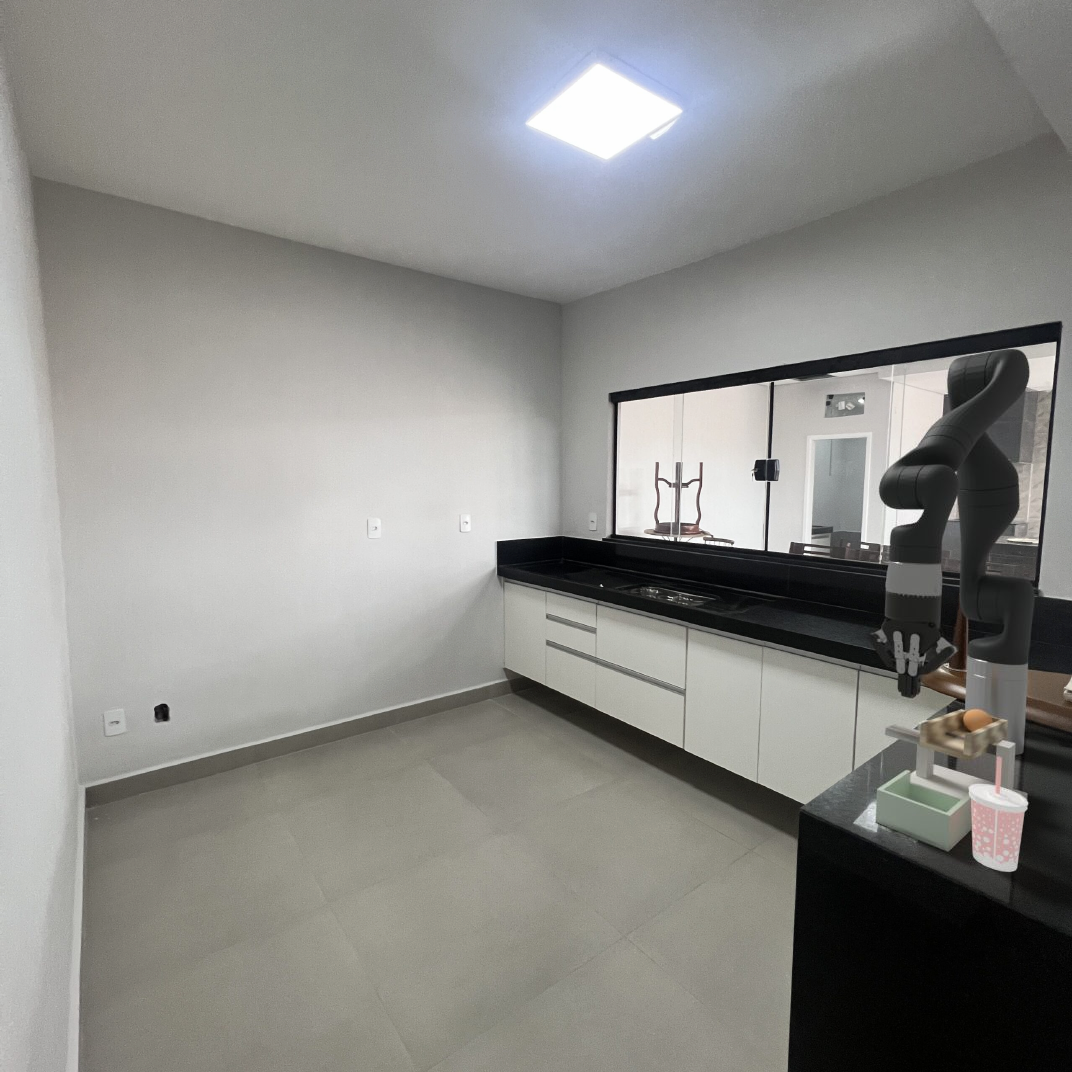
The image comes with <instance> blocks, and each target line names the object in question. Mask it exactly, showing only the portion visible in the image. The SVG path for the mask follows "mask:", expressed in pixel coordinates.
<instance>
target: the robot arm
mask: <svg viewBox="0 0 1072 1072" xmlns="http://www.w3.org/2000/svg"><path fill="white" fill-rule="evenodd" d="M1030 372H1031V371H1030V364H1029V360H1028V358H1027V355H1026V354H1025V353H1024V352H1023V351H1022V350H1020V349H1018V348H1017V349H1016V348H1007V349H1005V348H1004V349H999V350H993V351H988V352H987V351H985V352H982V353H981V352H980V353H977V354H976V353H975V354H969V355H964V356H960V357H956V358H955V359H954V360H953V361H952V362H951V364H950V365H949V367H948V371H947V377H946V385H947V386H946V388H947V396H948V397H947V399H948V405H949V412H948V413H946V414H944V415H942V416H941V417H940V418H939V419H937V420H936V421H935V423H933V424H932V425H931V426H930V427H929V429H928V430H927V432H926V433H925V434H924V436H923V438H921V440H920V442H918V444H917V446H916V447H914V448H912V449H911V450H910V451H909V452H907V453H906V454H905V455H903V456H902V457H901V458H899V459H898V460H896V461H895V462H894V463H893V464H891V465H890V466H889V467H888V468H887V470H886V471H885V472H884V474H883V475H882V477H881V479H880V482H879V486H878V493H879V497H880V500H881V502H882V503H883V504H884V505H885V506H887V507H888V508H890V509H893V510H900V511H901V510H903V511H904V510H908V511H909V510H911V511H912V510H913V511H915V510H919V511H920V510H922V511H923V512H922V513H921V515H920V517H919V519H918V520H917V521H915V522H912V523H907V524H901V525H896V526H895V527H893V528H892V529H891V531H890V537H889V553H888V555H889V556H888V567H887V571H886V580H885V585H884V586H885V604H884V605H885V606H884V617H885V618H884V621H883V622H882V624H881V629H879V630H877V631H875V632H871V633H869V634H867V636H866V637H867V638H866V639H867V640H868V642H869V643H870V644H871V646H872V647H873V648H874V650H875V651H876V653H877V654H878V656H879V658H880V659H881V660H882V662H883V663H884V664H885V666H886V667H887V668H892V669H894V670H895V671H897V690H898V692H899V693H900V695H901V697H902V698H903V697H904V698H908V699H914V698H916V697H917V696H918V695H919V694H920V693H921V686H922V676H924V675H926V676H927V675H930V674H932V673H935V671H937V670H938V669H939V668H940V667H942V666H943V665H944V664H945V663H946V662H947V661H948V660H950V659H951V658H952V657H953V656H955V654H957V653H958V652H959V647H958V646H957V645H956V644H951V643H950V642H949V641H947V640H946V639H945V638H944V633H943V631H942V628H941V618H942V617H941V614H942V590H943V573H942V555H943V554H942V550H943V537H944V534H945V531H946V527H947V525H948V524H947V523H948V521H949V517H950V515H951V513H952V510H953V508H954V505H955V503H956V501H957V510H958V519H959V520H958V522H959V532H960V536H959V537H960V565H959V566H960V567H959V568H960V569H959V570H960V571H959V603H960V604H959V605H960V609H961V613H962V615H963V616H964V617H965V618H966V619H967V620H971V621H976V622H982V623H989V624H995V625H996V624H997V625H1004V628H1003V631H1002V633H999V634H1000V635H998V636H994V637H990V638H984V637H982V638H976V639H975V638H974V639H972V640H970V641H969V642H968V644H967V655H966V656H967V658H966V678H965V679H966V681H965V698H964V699H965V703H964V704H965V706H964V710H966V711H969V710H973V709H979V710H982V711H984V712H986V713H987V714H989V715H990V716H991V717H995V718H1000V719H1004V720H1008V724H1007V737H1006V741H1008V742H1012V743H1016V744H1015V756H1017V755H1018V756H1019V755H1021V754H1023V753H1024V746H1025V730H1026V712H1027V711H1026V710H1027V693H1028V692H1027V691H1028V689H1027V687H1028V673H1029V672H1028V671H1029V653H1030V646H1031V635H1032V634H1031V633H1032V626H1033V625H1032V623H1033V617H1034V609H1035V602H1036V601H1035V600H1036V597H1035V588H1034V586H1033V583H1031V581H1030V580H1028V579H1027V578H1024V577H1023V578H1021V577H1012V576H1003V575H1001V576H1000V575H989V574H987V573H986V566H987V560H988V556H989V554H990V552H991V550H992V549H993V547H994V546H995V544H996V542H997V541H998V540H1000V539H999V538H1000V537H1001V536H1002V535H1003V534H1004V532H1006V530H1007V529H1008V528H1009V526H1010V525H1011V524H1012V522H1013V521H1014V520H1015V518H1016V517H1017V515H1018V513H1019V510H1020V504H1021V503H1020V484H1019V483H1020V478H1019V473H1018V471H1017V468H1016V467H1015V466H1014V464H1013V463H1012V462H1011V460H1010V459H1009V458H1008V457H1007V455H1006V454H1005V453H1004V452H1003V451H1002V450H1001V449H1000V448H999V447H998V446H997V444H995V442H994V441H993V440H992V439H991V438H990V436H989V434H988V433H987V432H986V431H988V429H989V428H990V427H991V426H993V425H994V424H995V423H996V422H997V421H998V420H999V419H1000V418H1001V417H1002V416H1003V415H1004V414H1005V413H1006V412H1007V411H1008V410H1009V409H1011V407H1012V406H1013V405H1014V404H1015V403H1016V402H1017V401H1018V400H1019V399H1020V397H1021V396H1022V395H1023V394H1024V392H1025V390H1026V389H1027V387H1028V384H1029V381H1030V380H1029V379H1030ZM887 642H889V643H890V644H891V646H892V648H893V649H894V651H893V650H892V649H891V647H890V646H889V644H888V643H887ZM936 645H937V647H936V648H935V651H936V653H937V654H936V655H935V656H934V657H933V658H932V659H930V660H929V661H928V662H927V663H926V664H924V663H925V660H926V656H927V654H928V653H929V652H930V651H931V650H932V649H933V648H934V647H935V646H936Z"/></svg>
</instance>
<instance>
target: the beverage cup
mask: <svg viewBox="0 0 1072 1072" xmlns="http://www.w3.org/2000/svg"><path fill="white" fill-rule="evenodd" d="M1001 764H1002V758H1001V757H997V771H996V786H995V785H990V784H973V785H971V786H970V787H969V796H970V797H971V812H972V829H971V839H972V843H971V844H972V856H973V858H974V859H975V861H977V862H978V863H980V864H982V865H983V866H985V867H987V868H990V869H992V870H996V871H999V872H1008V873H1010V872H1014V871H1015V872H1016V870H1017V869H1018V863H1019V856H1020V855H1019V854H1020V847H1021V841H1022V833H1023V825H1024V817H1025V812H1026V811H1027V810H1028V806H1029V802H1028V799H1027V800H1026V798H1024V797H1023V796H1022V795H1020V794H1018V793H1016V792H1014V791H1012V790H1009V789H1006V788H1003V787H1000V784H1001Z"/></svg>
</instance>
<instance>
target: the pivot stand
mask: <svg viewBox="0 0 1072 1072" xmlns="http://www.w3.org/2000/svg"><path fill="white" fill-rule="evenodd" d="M926 721H929V720H927V719H924V720H922V721H920V722H918V723H917V730H918V731H920V729H921V723H924V722H926ZM1015 744H1016V743H1012V742H1008V741H1005V740H1002V741H1001V742H1000V743H998V744H997V749H996V755H995V768H994V769H995V770H994V771H995V772H994V774H995V775H994V782H992V781H990V780H986V779H983V778H980V777H976V776H973V775H969V774H967V773H964V772H961V771H957V770H954V769H950V768H948V767H945V766H941V765H938V764H935V751H934V750H930V749H927V748H923V747H920V746H919V745H918V744H916V757H915V758H916V760H915V770H913V771H912V772H911V777H910V782H912V783H915V784H918V785H921V786H924V787H927V788H930V789H933V790H936V791H939V792H942V793H944V794H947V795H950V796H953V797H956V798H959V799H963V798H964V797H965V796H966V795H968V794H969V787H970V786H971V785H973V784H990V785H995V786H996V771H997V757H1001V758H1002V764H1001V784H1000V787H1003V788H1006V789H1009V790H1012V791H1014V792H1016V793H1018V794H1020V795H1022V796H1023V797H1024V798H1026V800H1027V801H1028V793H1027V792H1025V791H1021V790H1019V789H1015V788H1014V784H1015V783H1014V781H1015V780H1014V779H1015V762H1016V755H1015Z"/></svg>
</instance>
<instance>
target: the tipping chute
mask: <svg viewBox="0 0 1072 1072" xmlns="http://www.w3.org/2000/svg"><path fill="white" fill-rule="evenodd" d="M966 712H968V711H966V710H965V709H963V708H961V709H958V710H955V711H952V712H949V713H946V714H944V715H941V716H938V717H935V718H932V719H929V720H928V721H926V722H924V723H921V729H920V731H918V729H915V728H910V727H907V726H904V725H900V724H897V723H895V724H893V725H889V726H885V730H884V735H885V736H887V737H890V738H894V739H897V740H900V741H905V742H908V743H912V744H914V745H917V744H918V745H919V746H920V747H923V748H927V749H930V750H934V752H938V753H941V754H944V755H948V756H951V757H955V758H958V759H961V760H964V761H967V762H968V761H969V762H971V761H972V760H974V759H976V758H977V757H978V758H979V757H980V756H981V755H984V754H985V753H988V754H991V755H995V756H996V749H997V744H998V743H1000V742H1001V741H1002V740H1005V741H1006V737H1007V724H1008V720H1004V719H1000V718H995V717H991V716H990V717H991V718H992V721H993V723H992V724H989V725H987V726H985V727H982V728H980V729H978V730H976V731H973V732H971V731H970V730H969V729H967V727H966V726H965V724H964V721H963V718H964V715H965V713H966Z"/></svg>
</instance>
